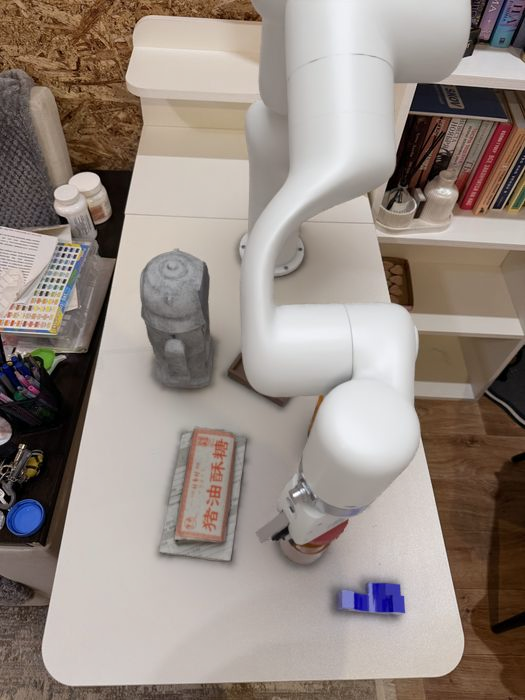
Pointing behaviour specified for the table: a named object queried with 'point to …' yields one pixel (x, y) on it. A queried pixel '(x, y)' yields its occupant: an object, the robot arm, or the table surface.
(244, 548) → the table surface
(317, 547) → the jar
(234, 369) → the tray
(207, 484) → the packaged product
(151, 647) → the table surface
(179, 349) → the figurine
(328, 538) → the lid
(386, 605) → the cable holder
